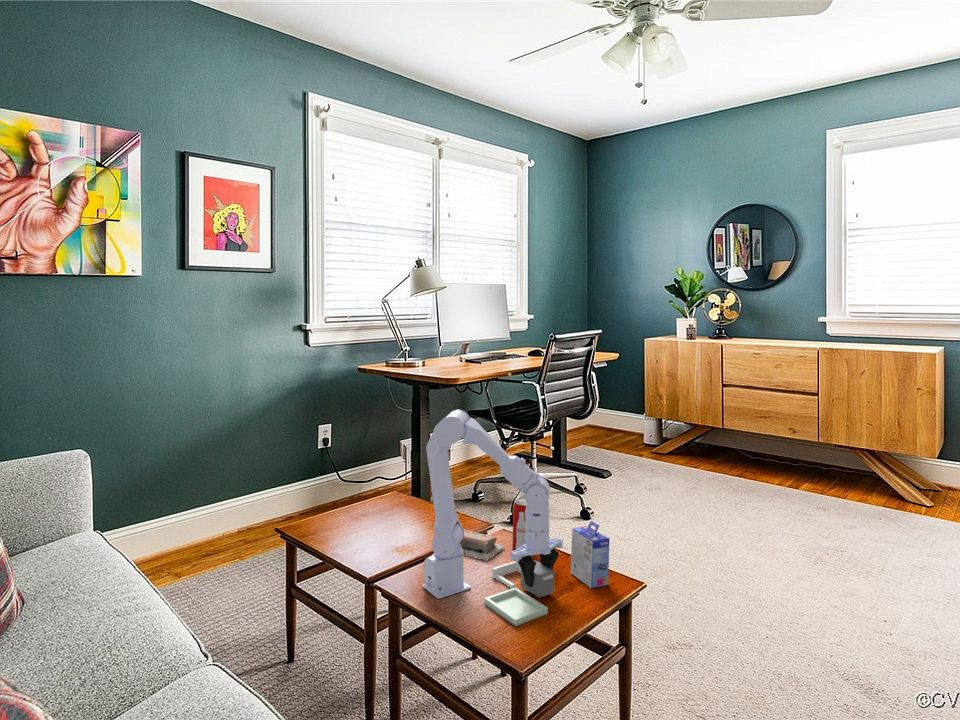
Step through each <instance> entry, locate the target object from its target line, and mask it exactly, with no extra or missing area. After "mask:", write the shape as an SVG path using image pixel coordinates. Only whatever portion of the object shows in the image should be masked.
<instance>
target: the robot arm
mask: <svg viewBox="0 0 960 720" xmlns="http://www.w3.org/2000/svg"><path fill="white" fill-rule="evenodd" d="M462 439H463V440H462ZM461 440H462V443H461V444H464V445H466V444H467V445H476V447H478V448H479V449H480V450H481V451H482V452H483V453H485V454H486V455H487V456H488V457H490V459H492V460H493V461H494V462H495V463H496V464H497V465H499V467H500V474H501V475H502V476H503V477H504V478H505V479H506V480H507V481H508V482H509V483H510V484H511V485H512V486H514V487H515V488H516V489H517V491H519V492H520V493H522V494H523V498H524V499H525V501H526V510H525V544H524V545H523V546H521V547H520V548H518V549H516V550H514V551H513V550H512V551H510V560H511V561H512V562H514V561H515V562H518V564H519V565H520V568H521V570H522V573H523V576H524V580H525V584H526V585H528V586H529V587H532V586H533V580H534V569H535V566H536V562H535V560H533V556H535V555H539V559H540V563H541V564H543V565H545V566H547V567H548V568H550V569H552V570H554V565H555V564H556V561H557V560H558V559H559V556H560V554H559V551H557V550H556V549H562V548H563V546H564V545H563V542H564V541H563V539H560V538H559V537H555V538H550V508H549V507H550V503H549V500H550V492H551V491H550V490H551V489H550V484H549V483H550V482H548V480H547V479H546V477H544V476H542V475H540V473H538V472H534V470H533V469H532V468H530V467H529V466H528V465H527V464H526V461H527V460H526V459H525V458H524V457H521V458H520V457H519V456H517V455H510V454H508V452H506V450H504V448H502V446H501V445H500V444H499V443H498V442H497V441H496V440H495V439H494V438H493V437H492V436H491V435H490V434H489V433H488V432H487V431H486V430H485V429H484V428H483V427H482V425H480V423H479V422H478V421H477V420H476V419H475V418H473V417H470V415H469V414H468V413H467V412H466V411H464V410H462V409H455V410H452V411H451V412H449V413H448V414H447V415H446V416H445V417H444V418H443V419H442V420H440V421H439V422H438V423H437V424H436V425H435V426H434V429H433V432H432V434H431V436H430V438H429V439H428V441H427V444H426V447H425V449H426V458H427V463H428V472H429V479H430V480H429V481H430V485H431V494H432V500H433V501H432V503H433V510H434V517H435V519H434V525H433V534H434V536H433V540H432V542H431V548H432V551H433V554H432V555H429V556H428V557H427V558H425V559H424V561H423V585H422V588H423V589H425V591H428V592H429V593H430V594H431V595H433V596H434V597H435V598H437V599H439V600H440V599H443V598H446V597H448V596H452V595H454V594H457V593H461V592H465V591H468V590H471V585H470V584H468V583H467V582H465V580H464V577H465V575H464V555H463V549H462V547H461V544H460V542H461V541H462V539H463V537H464V530H465V529H464V527H463V526H462V524H461V522H460V518H459V514H458V513H457V512H456V506H455V505H456V504H455V498H454V493H453V492H454V491H453V483H452V476H451V475H452V474H451V467H450V459H449V449H450V447H451V446H452V445H454V444H456V443H457V442H460V441H461Z"/></svg>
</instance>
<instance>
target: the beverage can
mask: <svg viewBox="0 0 960 720" xmlns="http://www.w3.org/2000/svg"><path fill="white" fill-rule="evenodd" d="M512 509H513V510H512V511H513V512H512V538H511V539H512V542H511V543H512V545H511V546H512V547H511V549H512V551H514V550H516V549H518V548H520V547H521V546H523V545H524V544H525V510H526V501H525V499H524V497H520V498H517V499H515V500H514V503H513V508H512Z"/></svg>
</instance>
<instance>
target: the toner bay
mask: <svg viewBox="0 0 960 720" xmlns="http://www.w3.org/2000/svg"><path fill="white" fill-rule="evenodd" d="M514 571H516V572H517V571H518V572H517V573H519V572H520V573H519V574H521V568H520V565H519V564H518V562H515V561H511V562H507V563H504V564H501V565H498V566H495V567H492V568H491V578H492V577H493V578H496V579H495V580H497V579H498V580H499V581H498V580H497V581H498V582H500V581H501V582H500V583H501V584H503V583H504V585H505V584H506V585H507V587H508V588H509V587H510V588H509V589H512V588H515V587H516V586H515V585H516V584H514V583H513V582H512V581H510V580H508V579H506V578H505V577H504V576H506V575H505V574H507V575H509V574H508V573H510V574H512V573H511V572H513V573H515V572H514ZM502 575H504V576H502ZM493 578H492V579H493ZM506 585H505V586H506Z"/></svg>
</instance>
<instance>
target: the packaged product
mask: <svg viewBox="0 0 960 720" xmlns="http://www.w3.org/2000/svg"><path fill="white" fill-rule="evenodd" d="M497 539H498V538H497V537H496V536H495V537H494V536H492V535H488V534H484V533H479V532H476V531H472V530H468V529H464V537H463V539H462V541H461V542H460V544H461V547H462V549H463V554H464V555H468V556H472V557H477V558H480V559H484V560H483V561H485V560H487V559H489V558H490V559H492V558H493V557H494V556H493V555H495V554H496V555H497V553H498V552H499V553H500V551H501V550H502V549H503V548H504V549H505V547H506V546H505V545H503V544H502V545H501V544H498V543H497ZM504 549H503V550H504ZM503 550H502V551H503ZM502 551H501V552H502ZM499 553H498V554H499ZM464 555H463V556H464ZM496 555H495V556H496ZM468 556H467V557H468ZM492 556H493V557H492ZM472 557H471V558H472ZM491 557H492V558H491ZM480 559H479V560H480ZM490 559H489V560H490ZM487 561H488V560H487Z"/></svg>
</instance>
